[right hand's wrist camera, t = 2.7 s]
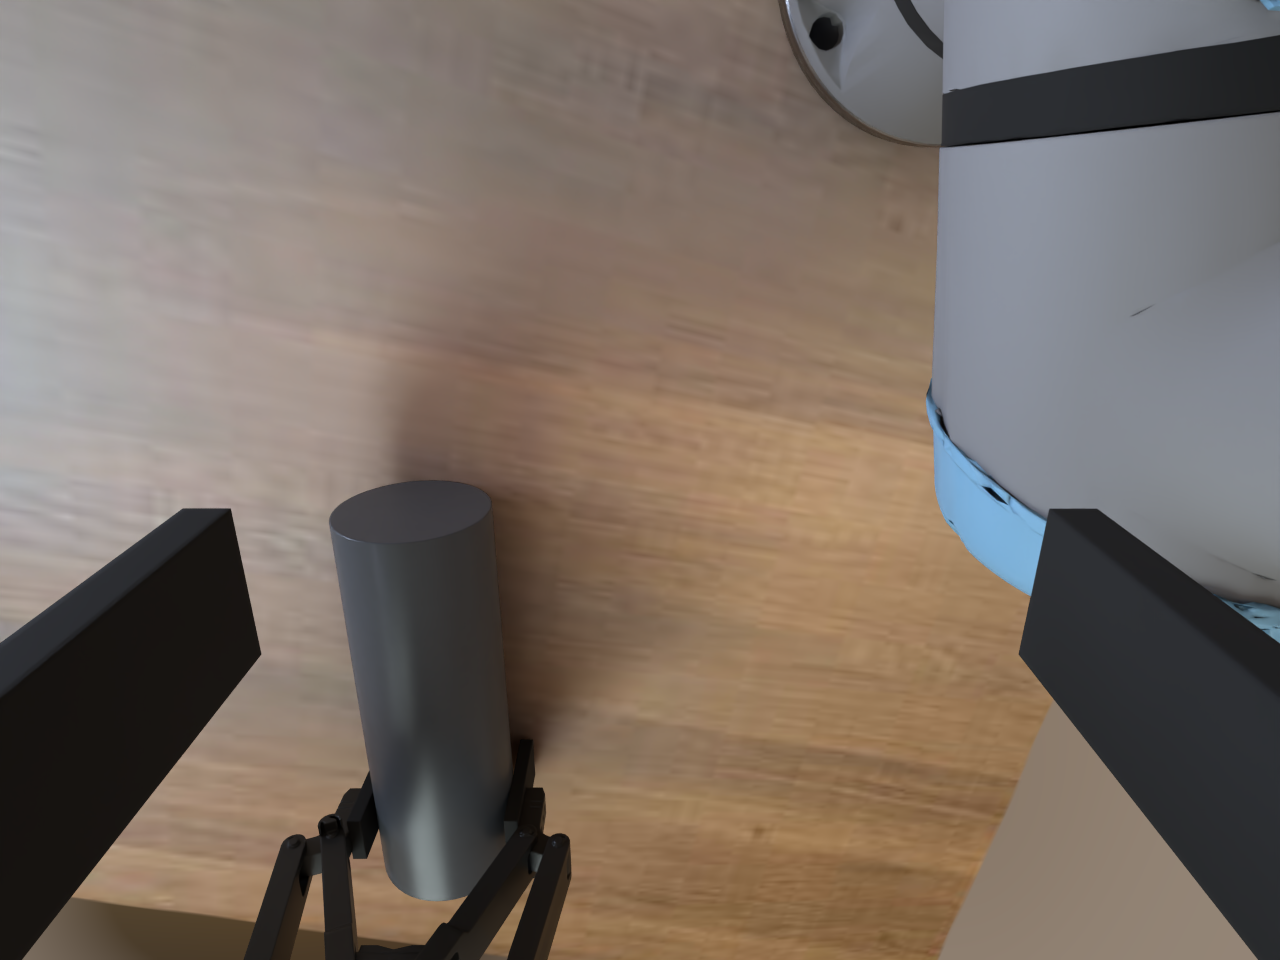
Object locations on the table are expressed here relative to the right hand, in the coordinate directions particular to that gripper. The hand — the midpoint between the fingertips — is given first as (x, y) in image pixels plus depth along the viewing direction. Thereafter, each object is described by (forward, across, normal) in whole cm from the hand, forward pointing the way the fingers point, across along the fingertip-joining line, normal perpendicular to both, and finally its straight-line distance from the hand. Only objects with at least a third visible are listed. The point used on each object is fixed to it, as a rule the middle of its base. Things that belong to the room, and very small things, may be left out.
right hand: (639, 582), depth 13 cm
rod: (+28, -11, -20) cm, 36 cm away
